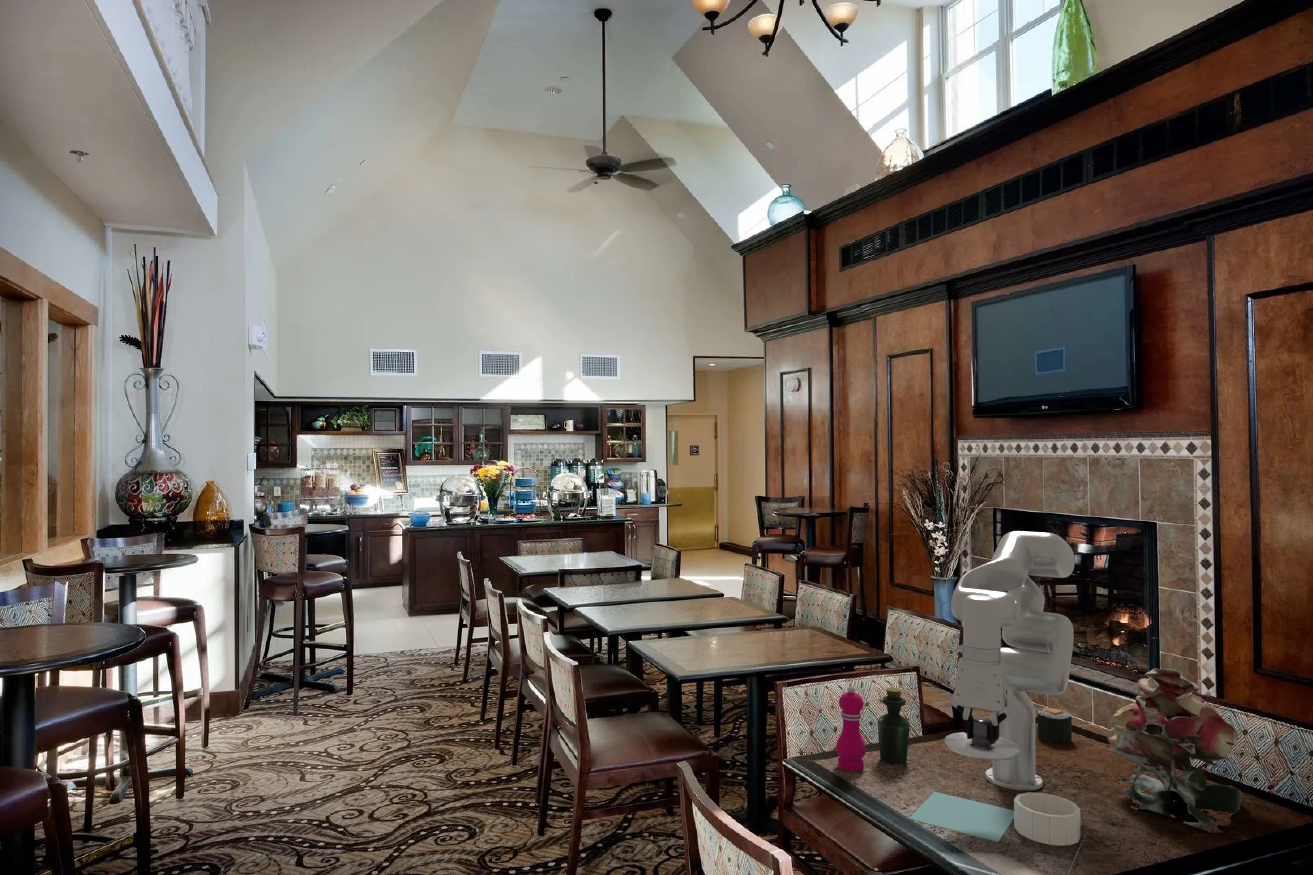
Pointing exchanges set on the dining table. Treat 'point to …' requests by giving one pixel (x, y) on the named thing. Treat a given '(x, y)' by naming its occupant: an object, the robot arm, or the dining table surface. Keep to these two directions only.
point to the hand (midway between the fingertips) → (981, 739)
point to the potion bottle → (893, 729)
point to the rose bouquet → (1174, 747)
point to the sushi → (1054, 726)
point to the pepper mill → (851, 732)
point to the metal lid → (981, 743)
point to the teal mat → (964, 816)
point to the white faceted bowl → (1047, 818)
